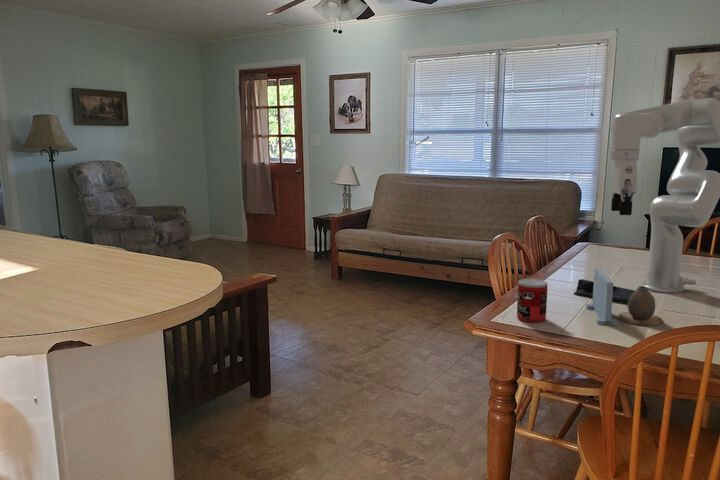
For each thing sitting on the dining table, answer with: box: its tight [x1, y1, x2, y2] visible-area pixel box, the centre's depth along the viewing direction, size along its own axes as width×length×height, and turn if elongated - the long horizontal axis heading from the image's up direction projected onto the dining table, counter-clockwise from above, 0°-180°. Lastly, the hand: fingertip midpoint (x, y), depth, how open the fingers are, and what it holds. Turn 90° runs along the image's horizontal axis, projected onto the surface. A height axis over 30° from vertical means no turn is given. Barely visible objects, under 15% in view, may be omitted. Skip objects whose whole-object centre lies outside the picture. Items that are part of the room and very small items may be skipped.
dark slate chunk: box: [573, 278, 655, 304], centre depth 175 cm, size 15×22×5 cm
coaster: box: [618, 311, 663, 327], centre depth 153 cm, size 11×11×1 cm
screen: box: [585, 268, 618, 326], centre depth 155 cm, size 5×16×12 cm, turn 169°
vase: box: [627, 285, 656, 320], centre depth 152 cm, size 7×7×9 cm
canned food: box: [516, 278, 548, 324], centre depth 154 cm, size 8×8×11 cm
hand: (620, 212), depth 164 cm, fingers open, 9 cm apart
